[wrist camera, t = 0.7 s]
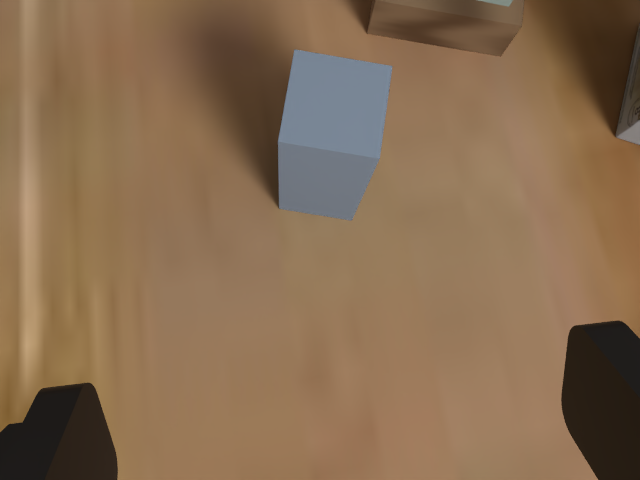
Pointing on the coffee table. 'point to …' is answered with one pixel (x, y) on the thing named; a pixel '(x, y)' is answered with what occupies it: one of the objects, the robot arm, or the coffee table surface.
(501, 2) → the sage slab
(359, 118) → the slate pillar
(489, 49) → the walnut slab
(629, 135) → the coffee box
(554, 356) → the coffee table surface
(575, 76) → the coffee table surface
